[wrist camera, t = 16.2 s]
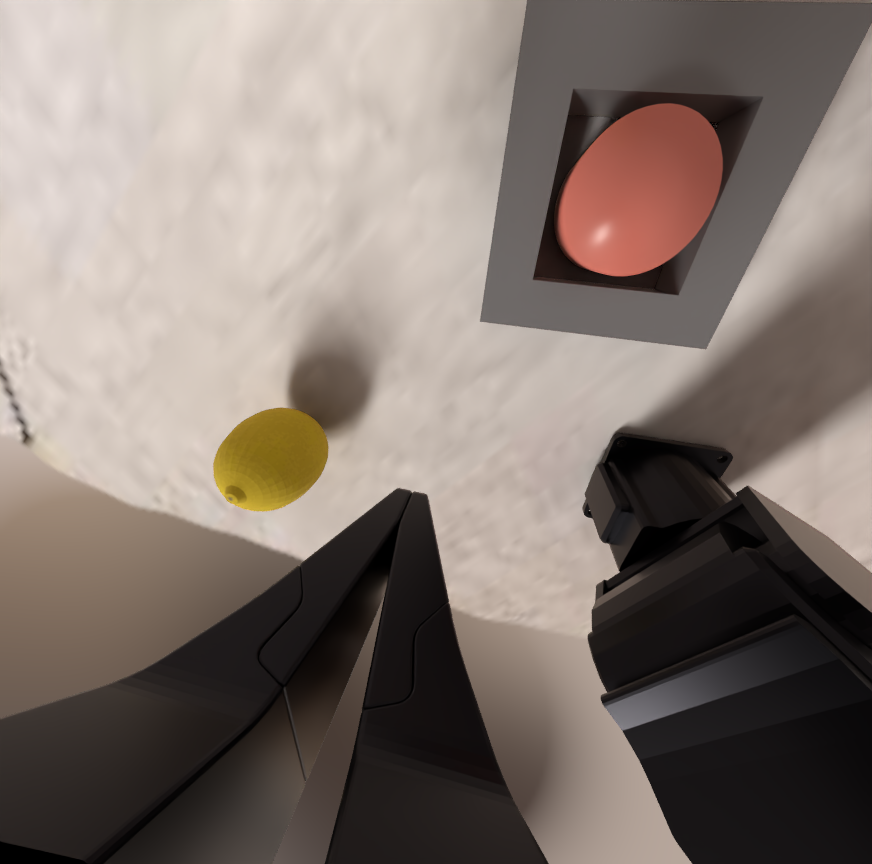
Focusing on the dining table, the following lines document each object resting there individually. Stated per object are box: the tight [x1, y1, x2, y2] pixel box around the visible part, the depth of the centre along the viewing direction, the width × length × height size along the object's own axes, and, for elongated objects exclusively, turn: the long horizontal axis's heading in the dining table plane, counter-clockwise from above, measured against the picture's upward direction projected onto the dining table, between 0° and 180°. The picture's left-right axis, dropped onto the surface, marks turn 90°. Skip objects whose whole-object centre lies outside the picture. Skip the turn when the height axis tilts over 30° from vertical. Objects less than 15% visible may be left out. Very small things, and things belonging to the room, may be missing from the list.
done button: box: [554, 103, 723, 276], centre depth 13 cm, size 5×5×3 cm
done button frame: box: [480, 0, 872, 349], centre depth 13 cm, size 10×10×2 cm
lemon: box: [213, 408, 328, 511], centre depth 20 cm, size 6×6×8 cm
